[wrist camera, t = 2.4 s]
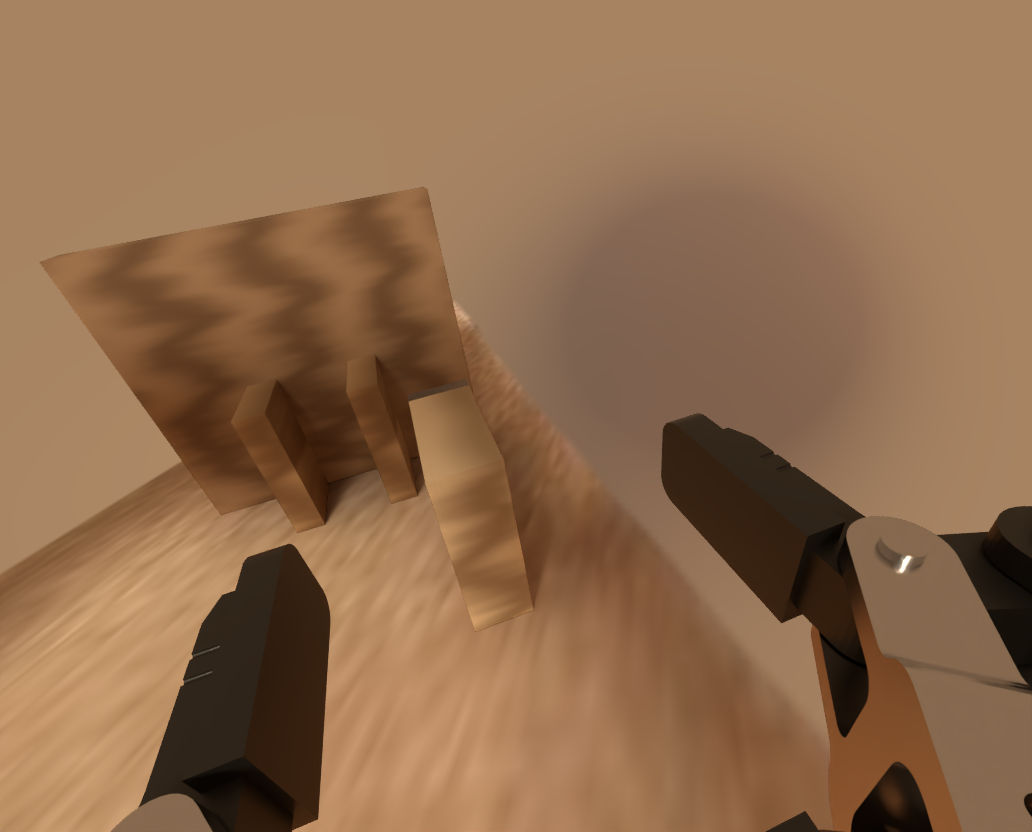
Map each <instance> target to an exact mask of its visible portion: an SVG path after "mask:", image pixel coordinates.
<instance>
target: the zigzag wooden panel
mask: <svg viewBox="0 0 1032 832" xmlns="http://www.w3.org/2000/svg"><path fill="white" fill-rule="evenodd" d="M40 263H41V265H42V266H43V268H44V269H45V270H46V272H47V273H48V275H49V276H50V277H51V279H52V280H53V282H54V283H55V284H56V286H57V287H58V289H59V290H60V291H61V293H62V294H63V295H64V297H65V298H66V300H67V301H68V302H69V304H70V305H71V307H72V308H73V309H74V311H75V312H76V313H77V315H78V316H79V318H80V319H81V320H82V322H83V323H84V325H85V326H86V327H87V329H88V330H89V332H90V333H91V334H92V336H93V337H94V338H95V340H96V341H97V343H98V344H99V346H100V347H101V348H102V350H103V351H104V353H105V354H106V355H107V357H108V358H109V359H110V361H111V362H112V364H113V365H114V366H115V368H116V369H117V371H118V372H119V374H120V375H121V376H122V378H123V379H124V380H125V382H126V383H127V384H128V386H129V387H130V389H131V390H132V392H133V393H134V394H135V396H136V397H137V399H138V400H139V401H140V403H141V404H142V406H143V407H144V408H145V410H146V411H147V412H148V414H149V415H150V417H151V418H152V419H153V421H154V422H155V424H156V425H157V426H158V428H159V429H160V431H161V432H162V433H163V435H164V436H165V437H166V439H167V440H168V442H169V443H170V444H171V446H172V447H173V449H174V450H175V452H176V453H177V454H178V456H179V457H180V458H181V460H182V461H183V463H184V464H185V465H186V467H187V468H188V470H189V471H190V472H191V474H192V475H193V477H194V478H195V479H196V481H197V482H198V484H199V485H200V486H201V488H202V489H203V491H204V492H205V493H206V495H207V496H208V498H209V499H210V500H211V502H212V503H213V504H214V506H215V507H216V509H217V510H218V511H219V513H220V514H221V515H222V514H225V513H229V512H232V511H235V510H239V509H242V508H245V507H249V506H252V505H256V504H259V503H262V502H266V501H269V500H273V499H276V498H277V500H278V502H279V503H280V505H281V507H282V508H283V510H284V512H285V513H286V515H287V517H288V518H289V520H290V522H291V523H292V525H293V527H294V528H295V530H296V532H297V533H299V532H302V531H305V530H309V529H312V528H315V527H318V526H322V525H325V520H326V508H327V496H328V484H329V483H330V482H334V481H337V480H340V479H344V478H347V477H350V476H354V475H357V474H361V473H364V472H367V471H371V470H374V469H378V471H379V473H380V476H381V478H382V481H383V483H384V486H385V488H386V491H387V493H388V496H389V498H390V500H391V503H395V502H399V501H402V500H405V499H408V498H412V497H415V496H418V495H417V490H416V484H415V478H414V472H413V467H412V461H411V458H415V457H418V456H420V455H419V450H418V445H417V440H416V435H415V430H414V426H413V421H412V416H411V411H410V406H409V401H408V396H407V395H409V394H412V393H416V392H420V391H423V390H427V389H431V388H435V387H438V386H442V385H446V384H449V383H453V382H457V381H461V380H464V379H466V381H467V383H468V385H469V387H470V389H471V391H472V393H473V390H472V386H471V381H470V377H469V372H468V368H467V364H466V359H465V355H464V350H463V346H462V341H461V337H460V332H459V328H458V323H457V319H456V315H455V310H454V306H453V301H452V297H451V292H450V288H449V283H448V279H447V274H446V270H445V266H444V261H443V257H442V252H441V248H440V243H439V239H438V235H437V230H436V226H435V221H434V217H433V212H432V208H431V203H430V200H429V194H428V190H427V189H426V188H424V187H420V188H415V189H410V190H405V191H399V192H394V193H388V194H383V195H378V196H372V197H367V198H362V199H356V200H351V201H346V202H340V203H335V204H330V205H324V206H319V207H314V208H308V209H303V210H298V211H293V212H287V213H281V214H276V215H271V216H266V217H260V218H255V219H250V220H245V221H239V222H233V223H228V224H223V225H217V226H212V227H207V228H201V229H196V230H191V231H185V232H180V233H175V234H170V235H164V236H159V237H154V238H148V239H143V240H138V241H133V242H127V243H121V244H116V245H111V246H105V247H100V248H95V249H89V250H84V251H79V252H74V253H68V254H63V255H58V256H56V257H53V258H50V259H47V260H44V261H41V262H40Z"/></svg>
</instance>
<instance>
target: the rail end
mask: <svg viewBox="0 0 1032 832" xmlns="http://www.w3.org/2000/svg"><path fill="white" fill-rule="evenodd" d="M407 396H408V401H409V406H410V411H411V416H412V421H413V426H414V430H415V435H416V440H417V445H418V450H419V455H420V460H421V465H422V470H423V475H424V479H425V484H426V487H427V490H428V493H429V496H430V499H431V502H432V505H433V508H434V511H435V513H436V516H437V519H438V522H439V525H440V528H441V531H442V534H443V537H444V540H445V543H446V546H447V549H448V552H449V555H450V558H451V561H452V564H453V567H454V570H455V573H456V576H457V579H458V582H459V585H460V588H461V591H462V594H463V597H464V599H465V602H466V605H467V608H468V611H469V614H470V617H471V620H472V623H473V626H474V629H475V632H476V631H479V630H482V629H484V628H487V627H490V626H492V625H495V624H498V623H501V622H503V621H506V620H509V619H511V618H514V617H517V616H519V615H522V614H525V613H527V612H530V611H533V605H532V600H531V594H530V589H529V584H528V579H527V574H526V569H525V564H524V559H523V554H522V549H521V544H520V539H519V534H518V529H517V524H516V519H515V514H514V509H513V504H512V499H511V494H510V489H509V484H508V478H507V473H506V468H505V463H504V459H503V457H502V455H501V452H500V450H499V448H498V446H497V444H496V442H495V440H494V438H493V436H492V433H491V431H490V429H489V427H488V425H487V423H486V421H485V419H484V416H483V414H482V412H481V410H480V408H479V406H478V404H477V402H476V400H475V397H474V395H473V393H472V391H471V389H470V387H469V385H468V383H467V381H466V379H464V380H461V381H457V382H453V383H449V384H446V385H442V386H438V387H435V388H431V389H427V390H423V391H420V392H416V393H412V394H409V395H407Z"/></svg>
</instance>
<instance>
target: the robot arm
mask: <svg viewBox="0 0 1032 832" xmlns="http://www.w3.org/2000/svg"><path fill="white" fill-rule="evenodd" d="M661 477H662V483H663V486H664V489H665V491H666V493H667V495H668V497H669V499H670V500H671V501H672V503H673V504H674V505H675V506H676V507H677V508H678V509H679V510H680V511H681V513H682V514H683V515H684V516H685V517H686V518H687V519H688V520H689V521H690V523H691V524H692V525H693V526H694V527H695V528H696V529H697V530H698V531H699V532H700V534H701V535H702V536H703V537H704V538H705V539H706V540H707V541H708V542H709V544H710V545H711V546H712V547H713V548H714V549H715V550H716V551H717V552H718V554H719V555H720V556H721V557H722V558H723V559H724V560H725V561H726V562H727V563H728V565H729V566H730V567H731V568H732V569H733V570H734V571H735V572H736V573H737V575H738V576H739V577H740V578H741V579H742V580H743V581H744V582H745V583H746V585H748V587H749V588H750V589H751V590H752V591H753V592H754V593H755V594H756V595H757V597H758V598H759V599H760V600H761V601H762V602H763V603H764V604H765V606H766V607H767V608H768V609H769V610H770V611H771V612H772V613H773V614H774V616H775V617H776V618H777V619H778V620H779V621H780V622H781V623H783V622H785V621H787V620H790V619H792V618H795V617H797V616H799V615H802V614H803V615H804V616H805V617H806V618H807V619H808V620H809V621H810V622H811V623H812V624H813V625H812V628H811V639H812V645H813V650H814V656H815V661H816V667H817V673H818V678H819V684H820V689H821V694H822V700H823V706H824V711H825V717H826V723H827V728H828V734H829V741H830V763H829V774H828V786H829V800H830V808H831V814H832V820H833V827H834V831H831V830H818V829H817V827H816V826H815V825H814V823H813V822H812V820H811V819H810V817H809V816H808V814H807V813H806V811H804V812H802V813H801V814H799V815H797V816H795V817H793V818H791V819H789V820H787V821H785V822H783V823H781V824H779V825H777V826H776V827H774V828H772V829H770V830H768V831H766V832H1032V506H1022V507H1014V508H1009V509H1007V510H1005V511H1003V512H1002V513H1001V514H999V516H998V518H997V520H996V521H995V522H994V524H993V526H992V527H991V529H990V531H989V532H979V533H962V534H947V535H936V534H934V533H932V532H931V531H929V530H927V529H925V528H923V527H921V526H918V525H916V524H914V523H911V522H908V521H905V520H901V519H897V518H892V517H884V516H871V517H865V516H863V515H862V514H860V513H859V512H857V511H856V510H855V509H853V508H852V507H850V506H849V505H848V504H846V503H845V502H843V501H842V500H840V499H839V498H838V497H836V496H835V495H834V494H832V493H831V492H829V491H828V490H827V489H825V488H824V487H822V486H821V485H820V484H818V483H817V482H815V481H814V480H813V479H811V478H810V477H808V476H807V475H806V474H804V473H803V472H801V471H800V470H798V469H797V468H795V467H793V468H792V467H791V465H790V463H789V462H787V461H786V460H784V459H783V458H782V457H780V456H779V455H774V453H773V451H772V450H770V449H769V448H768V447H766V446H765V445H764V444H762V443H761V442H759V441H758V440H756V439H755V438H754V437H751V436H748V435H746V434H743V433H741V432H738V431H736V430H733V429H730V428H726V429H722V428H720V427H719V426H718V425H717V424H715V423H714V422H713V421H711V420H710V419H709V418H707V417H706V416H704V415H702V414H694V415H691V416H688V417H685V418H681V419H679V420H675V421H673V422H669V423H667V424H666V425H665V426H664V429H663V442H662V470H661ZM329 637H330V611H329V605H328V602H327V598H326V596H325V593H324V591H323V589H322V588H321V586H320V585H319V583H318V582H317V580H316V578H315V577H314V575H313V574H312V572H311V571H310V569H309V567H308V566H307V564H306V563H305V561H304V559H303V558H302V556H301V555H300V553H299V552H298V550H297V549H296V548H295V546H293V545H292V544H287V545H284V546H281V547H278V548H275V549H272V550H268V551H265V552H262V553H259V554H256V555H253V556H250V557H248V558H247V559H246V560H245V561H244V563H243V566H242V569H241V573H240V576H239V580H238V583H237V587H236V590H235V591H233V592H230V593H227V594H224V595H222V596H221V598H220V599H219V600H218V602H217V603H216V605H215V606H214V607H213V609H212V610H211V612H210V613H209V614H208V616H207V617H206V619H205V620H204V622H203V623H202V625H201V628H200V631H199V634H198V637H197V640H196V643H195V646H194V649H193V652H192V656H193V658H192V659H191V660H189V663H188V666H187V669H186V672H185V675H184V678H183V680H184V685H183V686H181V687H180V690H179V693H178V696H177V699H176V702H175V705H174V708H173V711H172V714H171V717H170V720H169V723H168V726H167V729H166V732H165V735H164V738H163V740H162V743H161V746H160V749H159V752H158V755H157V758H156V761H155V764H154V767H153V770H152V773H151V776H150V779H149V782H148V785H147V788H146V791H145V793H144V796H143V798H142V801H141V803H140V805H139V807H138V808H137V809H136V810H135V811H133V812H132V813H131V814H129V815H128V816H127V817H126V818H125V819H123V820H122V821H121V822H120V823H119V824H118V825H117V826H116V827H115V828H114V829H113V830H112V831H111V832H292V830H294V829H296V828H299V827H301V826H303V825H306V824H308V823H310V822H313V821H315V820H317V819H318V813H319V797H320V781H321V765H322V749H323V733H324V717H325V701H326V685H327V669H328V653H329Z"/></svg>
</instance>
